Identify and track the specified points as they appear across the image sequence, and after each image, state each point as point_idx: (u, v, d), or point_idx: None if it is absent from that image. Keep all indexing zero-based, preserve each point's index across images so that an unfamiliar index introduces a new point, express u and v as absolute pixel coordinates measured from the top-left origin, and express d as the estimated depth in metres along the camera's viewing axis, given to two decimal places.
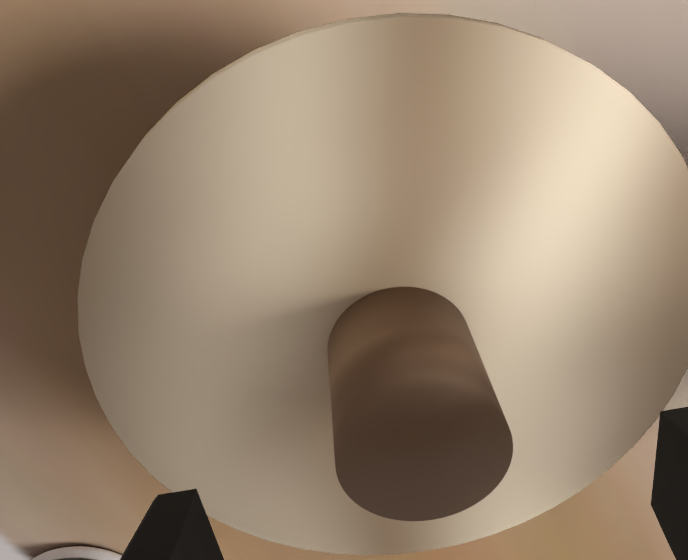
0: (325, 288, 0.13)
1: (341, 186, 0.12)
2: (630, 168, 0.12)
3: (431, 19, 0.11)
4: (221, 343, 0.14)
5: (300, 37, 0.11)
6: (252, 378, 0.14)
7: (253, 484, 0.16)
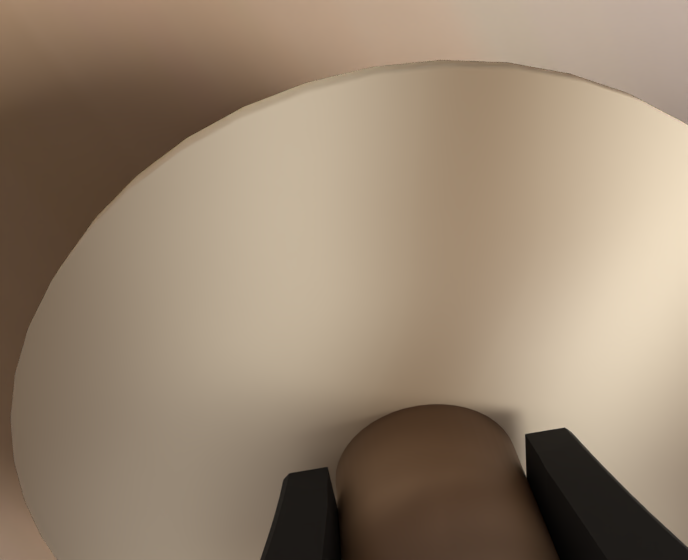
0: (333, 406, 0.10)
1: (358, 285, 0.09)
2: None
3: (487, 71, 0.08)
4: (200, 471, 0.11)
5: (306, 94, 0.08)
6: (240, 510, 0.11)
7: None
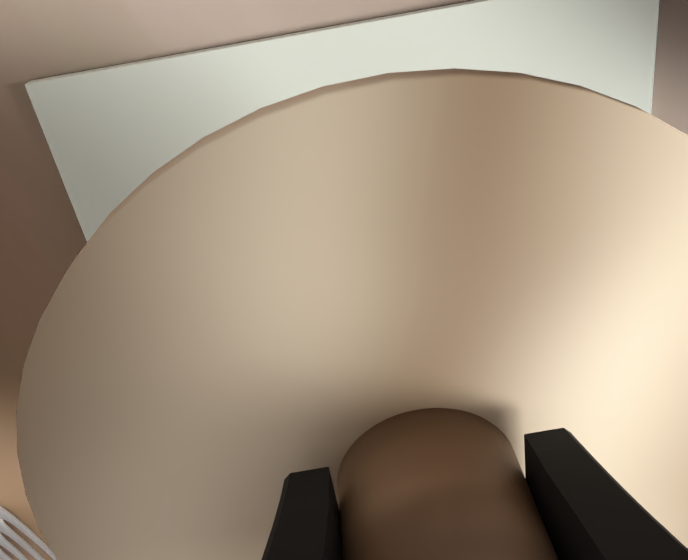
0: (338, 408, 0.10)
1: (367, 287, 0.09)
2: None
3: (500, 80, 0.08)
4: (202, 469, 0.11)
5: (323, 97, 0.08)
6: (240, 509, 0.11)
7: None
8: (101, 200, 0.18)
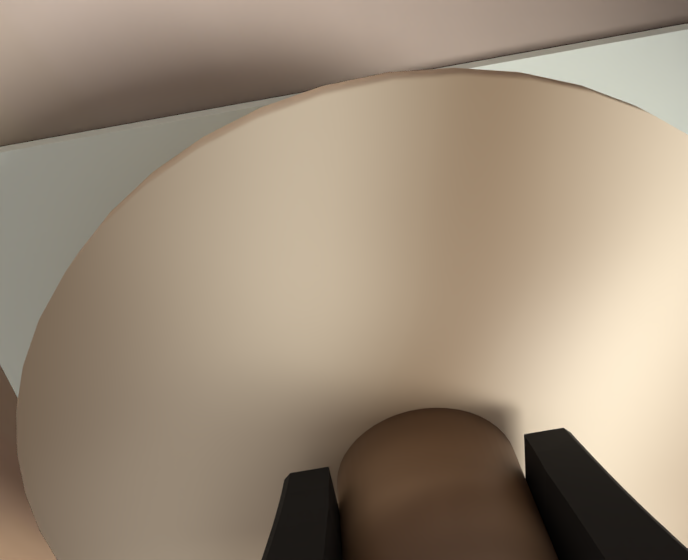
0: (338, 408, 0.10)
1: (367, 286, 0.09)
2: None
3: (501, 79, 0.08)
4: (202, 469, 0.11)
5: (323, 97, 0.08)
6: (241, 510, 0.11)
7: None
8: (22, 323, 0.13)
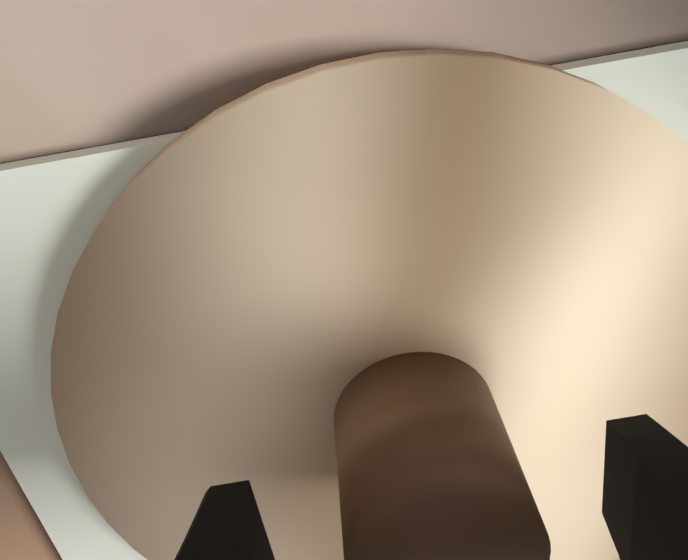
0: (334, 351, 0.11)
1: (359, 241, 0.10)
2: (686, 231, 0.11)
3: (474, 58, 0.09)
4: (214, 407, 0.12)
5: (322, 73, 0.09)
6: (248, 445, 0.12)
7: None
8: None
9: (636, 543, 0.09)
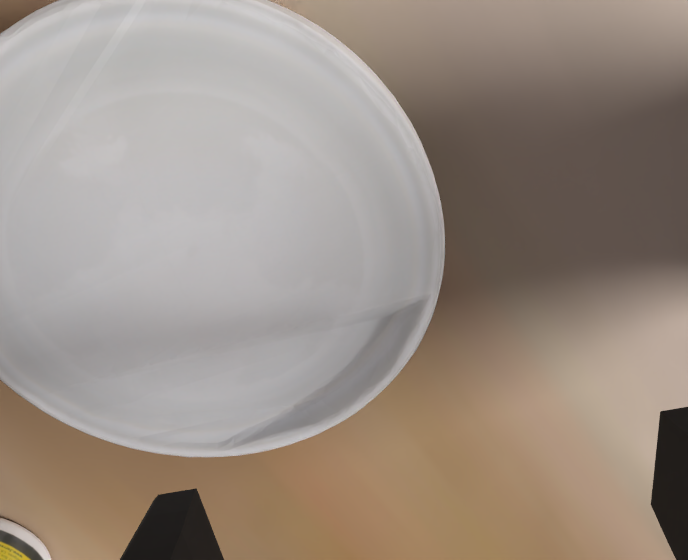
0: None
1: None
2: None
3: None
4: None
5: None
6: None
7: None
8: None
9: None
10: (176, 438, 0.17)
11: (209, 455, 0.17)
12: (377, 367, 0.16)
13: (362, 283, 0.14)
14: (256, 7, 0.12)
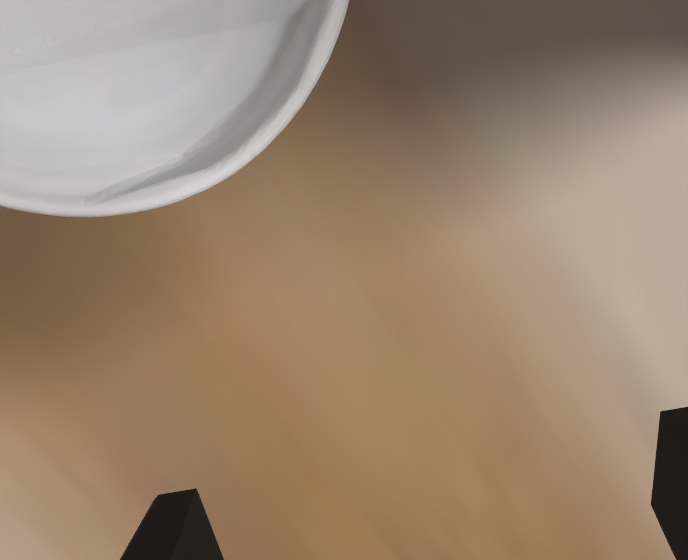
0: None
1: None
2: None
3: None
4: None
5: None
6: None
7: None
8: None
9: None
10: (31, 186, 0.13)
11: (74, 212, 0.13)
12: (283, 89, 0.13)
13: None
14: None
